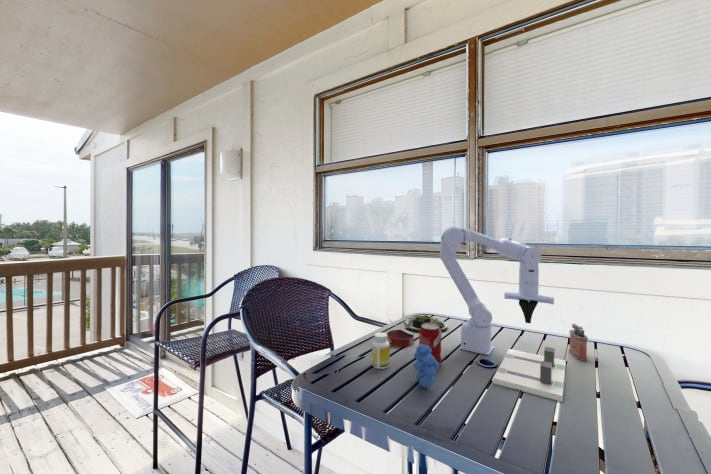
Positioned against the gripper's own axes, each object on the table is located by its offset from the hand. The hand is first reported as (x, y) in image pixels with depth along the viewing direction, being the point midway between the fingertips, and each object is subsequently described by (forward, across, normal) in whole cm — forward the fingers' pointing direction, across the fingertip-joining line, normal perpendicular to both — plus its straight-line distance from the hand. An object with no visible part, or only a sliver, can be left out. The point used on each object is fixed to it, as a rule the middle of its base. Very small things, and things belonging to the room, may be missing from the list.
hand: (528, 322), depth 107 cm
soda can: (+10, -24, -26) cm, 37 cm away
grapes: (+10, -19, -40) cm, 46 cm away
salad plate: (+11, -39, +6) cm, 41 cm away
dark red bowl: (+11, -40, -15) cm, 44 cm away
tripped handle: (+9, +7, -22) cm, 25 cm away
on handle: (+9, +7, -10) cm, 15 cm away
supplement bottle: (+10, -36, -36) cm, 52 cm away
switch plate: (+10, +3, -16) cm, 19 cm away
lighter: (+11, +14, +6) cm, 18 cm away
